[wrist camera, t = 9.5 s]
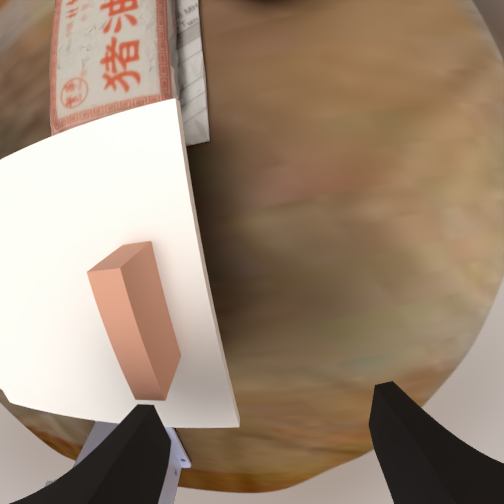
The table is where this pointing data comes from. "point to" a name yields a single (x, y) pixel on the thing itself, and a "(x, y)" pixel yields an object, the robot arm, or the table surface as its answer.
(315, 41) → the table surface
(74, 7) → the packaged product
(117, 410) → the carton lid
